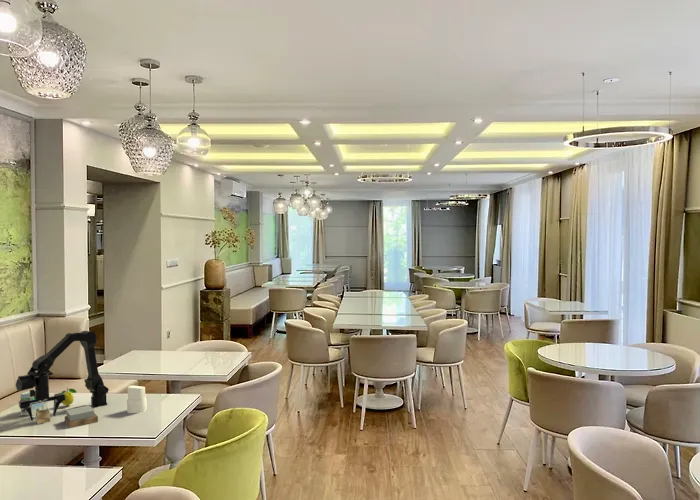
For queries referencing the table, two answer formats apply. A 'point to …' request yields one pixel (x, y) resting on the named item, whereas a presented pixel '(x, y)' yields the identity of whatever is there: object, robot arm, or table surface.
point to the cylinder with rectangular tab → (136, 399)
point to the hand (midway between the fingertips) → (43, 418)
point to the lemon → (68, 396)
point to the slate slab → (80, 413)
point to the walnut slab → (81, 421)
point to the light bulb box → (33, 406)
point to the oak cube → (42, 416)
